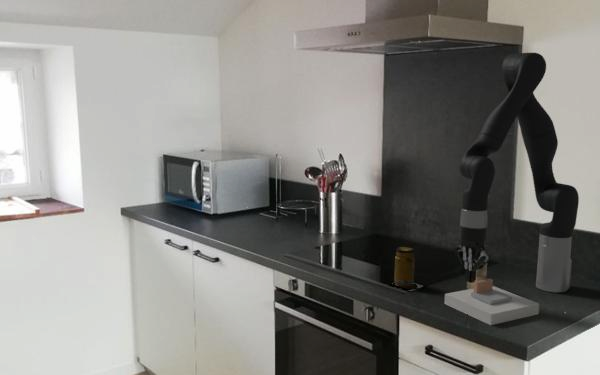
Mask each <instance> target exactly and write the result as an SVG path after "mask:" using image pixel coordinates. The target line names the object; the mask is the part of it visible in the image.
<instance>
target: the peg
mask: <svg viewBox="0 0 600 375" xmlns="http://www.w3.org/2000/svg"><path fill="white" fill-rule="evenodd" d="M487 268H488V262H487V263H486V264H485V266H484V267H483V268H482V269H480V270H477V271H476V280H475V281H479V280H485V279H487V272H488V271H487V270H488V269H487ZM473 288H474V282H473V283H469V282H467V281H466V289H467V290H468V289H473Z"/></svg>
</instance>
